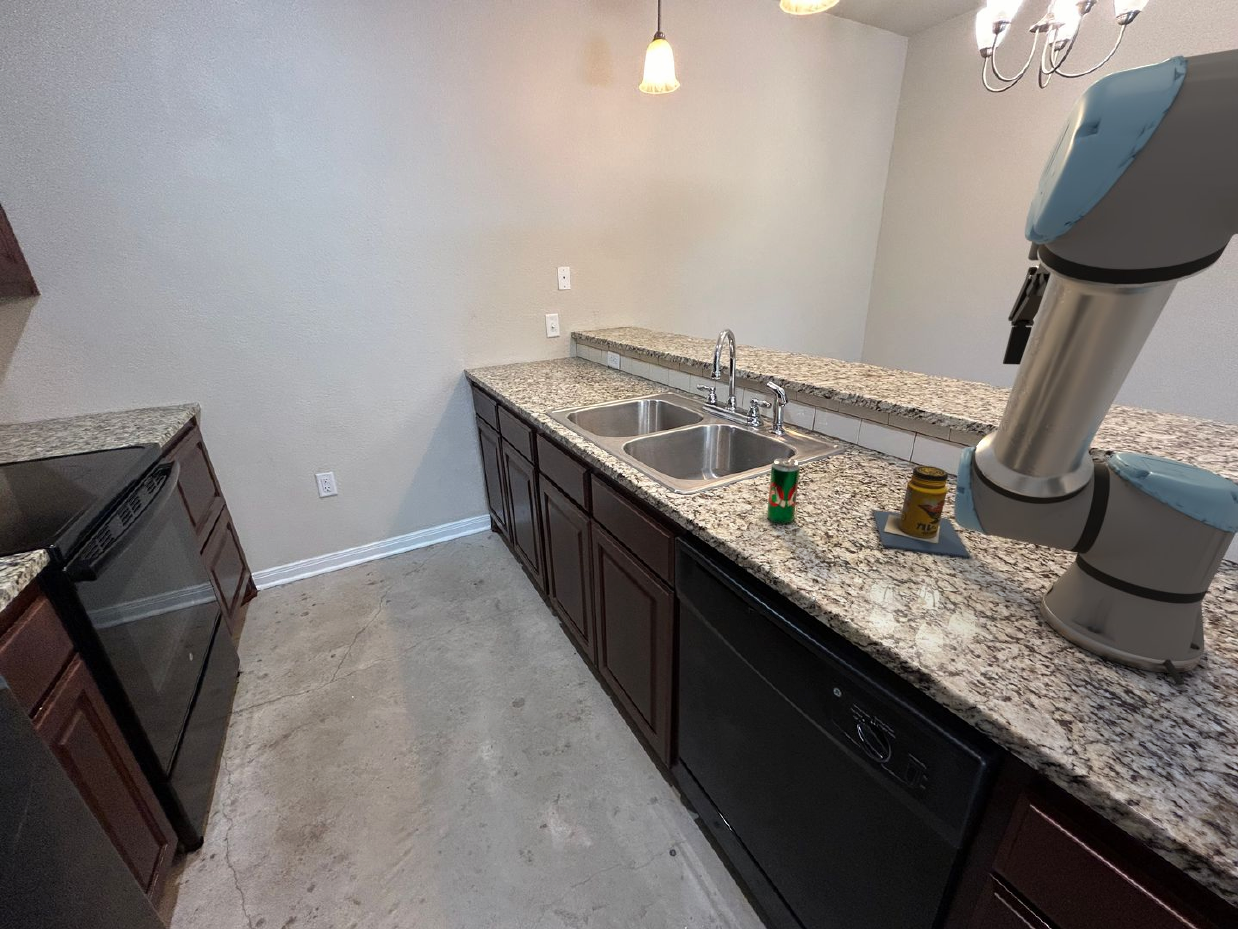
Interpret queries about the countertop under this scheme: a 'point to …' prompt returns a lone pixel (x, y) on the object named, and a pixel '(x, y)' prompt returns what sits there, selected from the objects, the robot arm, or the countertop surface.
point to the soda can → (783, 490)
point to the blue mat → (946, 541)
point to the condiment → (921, 505)
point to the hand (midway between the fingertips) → (1027, 371)
